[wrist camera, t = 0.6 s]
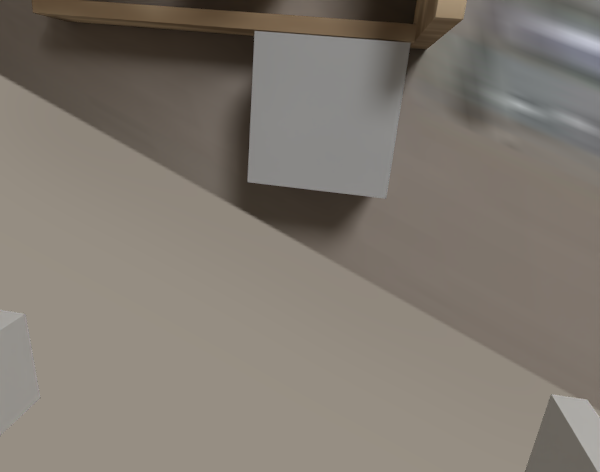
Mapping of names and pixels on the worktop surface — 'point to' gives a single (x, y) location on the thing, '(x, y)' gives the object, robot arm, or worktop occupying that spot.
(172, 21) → the light wood open box
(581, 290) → the worktop surface
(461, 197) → the worktop surface
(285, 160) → the stone plinth
